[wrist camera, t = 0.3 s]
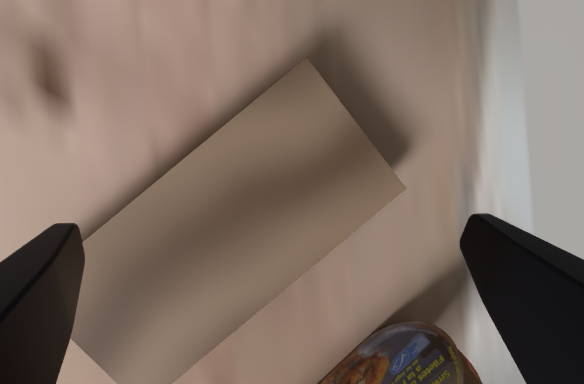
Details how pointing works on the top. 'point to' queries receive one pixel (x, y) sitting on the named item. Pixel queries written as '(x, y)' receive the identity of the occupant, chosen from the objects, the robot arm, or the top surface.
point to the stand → (227, 231)
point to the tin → (405, 358)
